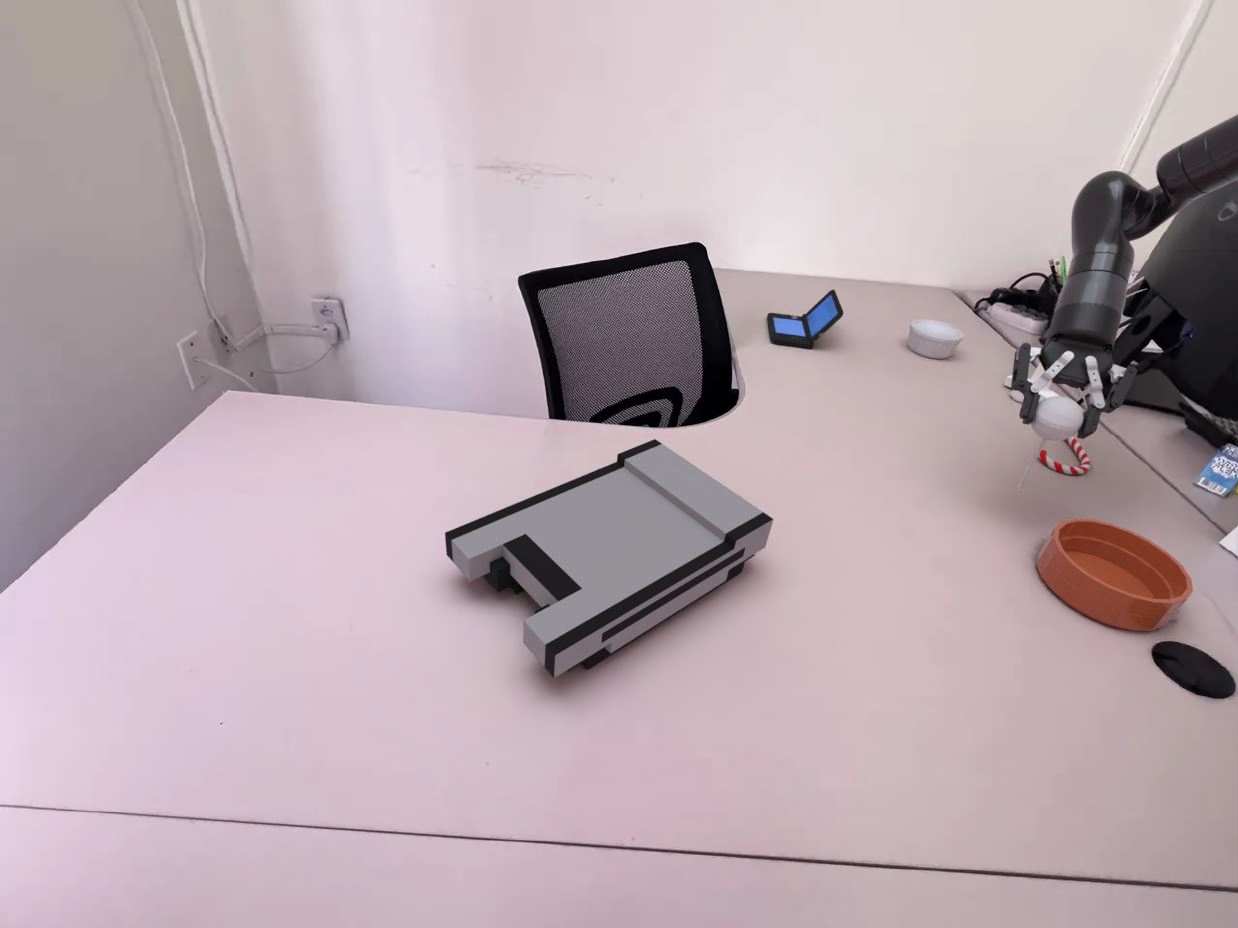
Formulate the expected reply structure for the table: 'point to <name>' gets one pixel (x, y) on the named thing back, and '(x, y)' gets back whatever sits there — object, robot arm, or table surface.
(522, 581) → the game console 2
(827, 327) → the game console
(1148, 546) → the bowl
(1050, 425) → the lollipop
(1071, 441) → the candy cane
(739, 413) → the table surface
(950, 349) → the ramekin
